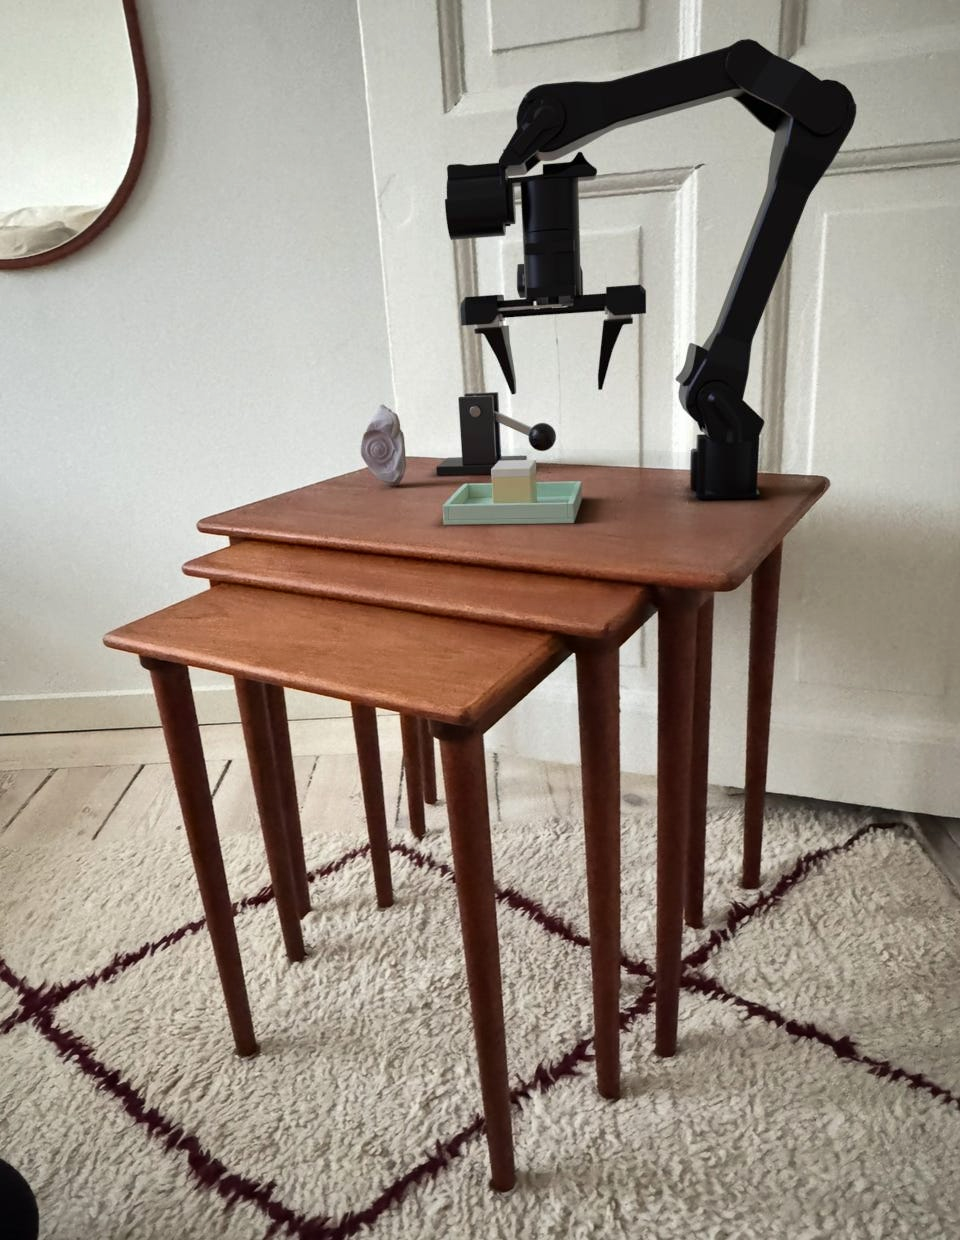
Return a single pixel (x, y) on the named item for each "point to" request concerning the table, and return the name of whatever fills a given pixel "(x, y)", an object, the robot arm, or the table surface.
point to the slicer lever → (530, 431)
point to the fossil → (384, 447)
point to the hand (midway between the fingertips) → (556, 391)
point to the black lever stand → (477, 437)
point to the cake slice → (514, 481)
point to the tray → (514, 505)
